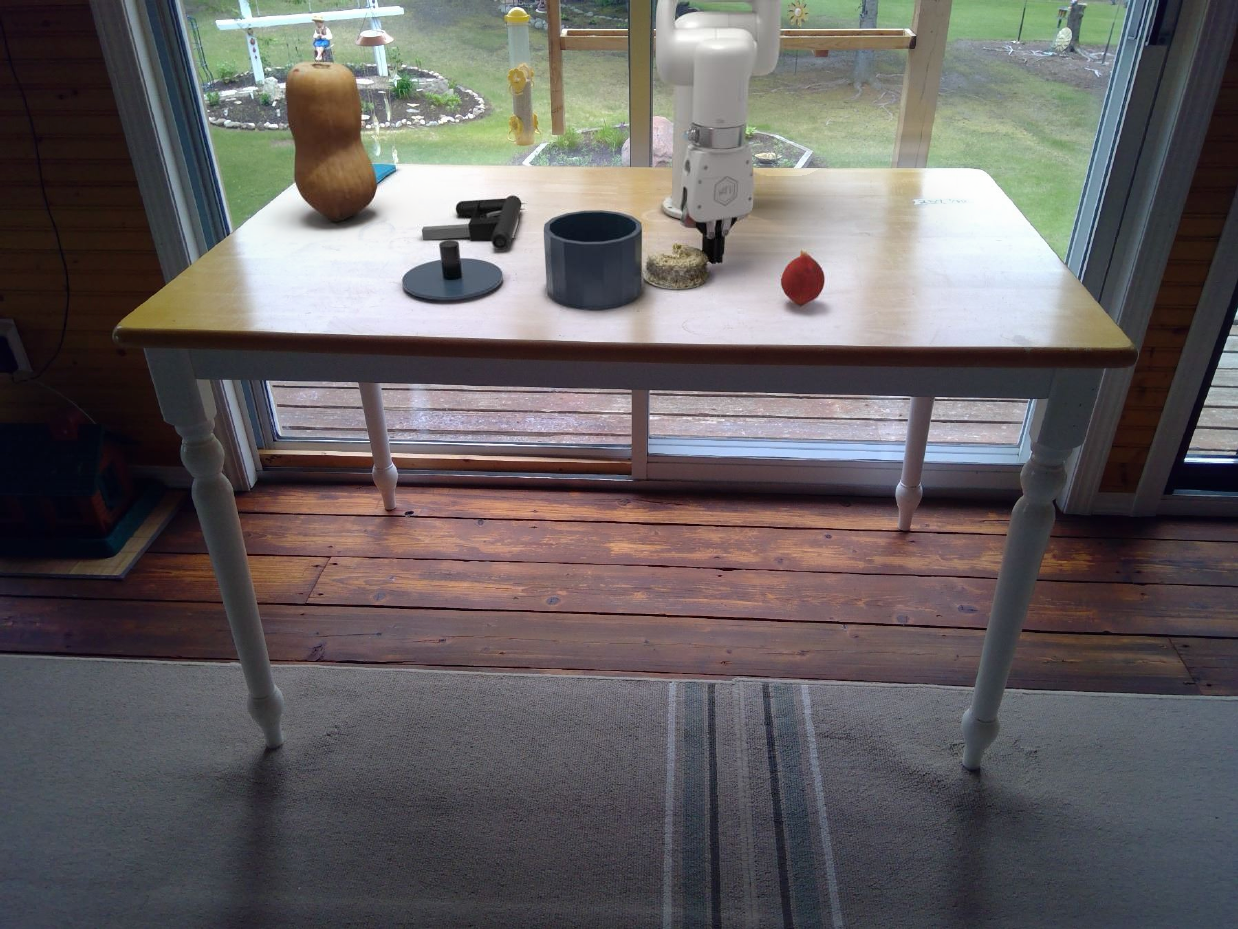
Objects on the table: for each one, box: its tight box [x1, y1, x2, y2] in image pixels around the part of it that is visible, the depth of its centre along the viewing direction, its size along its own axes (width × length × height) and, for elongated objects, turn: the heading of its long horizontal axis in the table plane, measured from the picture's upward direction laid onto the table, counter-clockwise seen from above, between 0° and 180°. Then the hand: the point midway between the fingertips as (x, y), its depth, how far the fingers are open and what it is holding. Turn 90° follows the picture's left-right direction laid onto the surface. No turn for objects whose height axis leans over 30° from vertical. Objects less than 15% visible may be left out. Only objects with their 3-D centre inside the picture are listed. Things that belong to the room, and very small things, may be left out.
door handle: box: [421, 194, 527, 250], centre depth 156 cm, size 3×20×16 cm
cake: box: [642, 242, 710, 291], centre depth 138 cm, size 10×10×5 cm
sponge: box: [372, 163, 397, 184], centre depth 182 cm, size 2×12×6 cm
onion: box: [780, 249, 826, 307], centre depth 128 cm, size 6×6×8 cm
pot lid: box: [401, 239, 504, 301], centre depth 137 cm, size 15×15×6 cm
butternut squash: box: [284, 61, 378, 223], centre depth 156 cm, size 14×13×25 cm
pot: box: [543, 209, 643, 311], centre depth 133 cm, size 14×14×10 cm
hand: (712, 260), depth 141 cm, fingers closed
